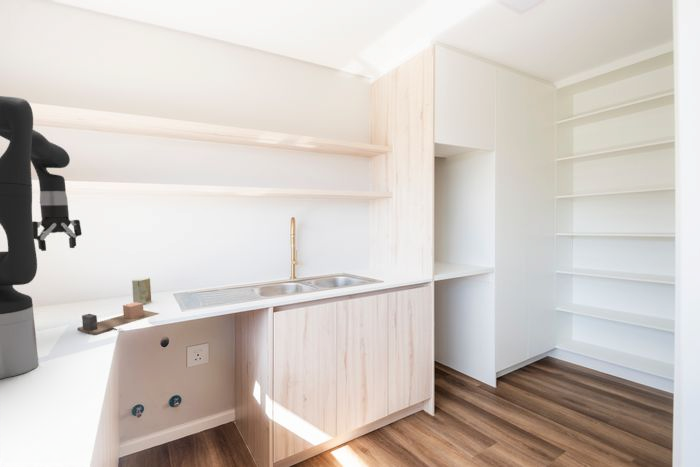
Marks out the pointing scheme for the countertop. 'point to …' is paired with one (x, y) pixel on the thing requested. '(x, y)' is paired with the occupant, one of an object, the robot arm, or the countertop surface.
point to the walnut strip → (107, 322)
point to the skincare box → (141, 290)
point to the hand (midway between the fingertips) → (58, 249)
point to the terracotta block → (133, 310)
